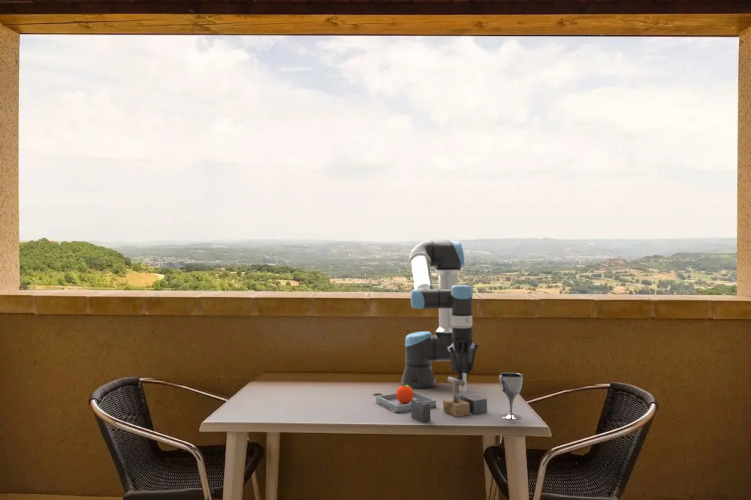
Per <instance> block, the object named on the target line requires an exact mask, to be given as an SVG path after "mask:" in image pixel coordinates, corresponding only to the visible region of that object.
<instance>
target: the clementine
mask: <svg viewBox="0 0 751 500" xmlns="http://www.w3.org/2000/svg"><path fill="white" fill-rule="evenodd" d="M413 389H414V388H412V387H411V386H410V387H409V385H400V386H399V387H398V388H397V390H396V392H395V393H396V397H397V400H398V401H399V402H401V403H403V404H406V403H409V402H411V400H412V399H413V396H414V393H413V391H414V390H413Z"/></svg>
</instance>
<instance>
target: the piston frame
mask: <svg viewBox="0 0 751 500" xmlns="http://www.w3.org/2000/svg"><path fill="white" fill-rule="evenodd" d="M459 399H460V400H462V401H465V402H467V403H470V414H471V415H479V414H484V413H485V414H486V413H488V398H486V397H484V396H480V395H477V394H476V393H471V392H470V393H465V394H459ZM410 413H411V416H410V417H411V418H412V417H413V419H414V418H415V419H414V420H416V419H417V421H419V422H421V423H423V424H425V423H429V422H431V421H432V420H431V408H430V404H428V403H426V402H424V401H421V400H419V399H416V400H411V411H410Z"/></svg>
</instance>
